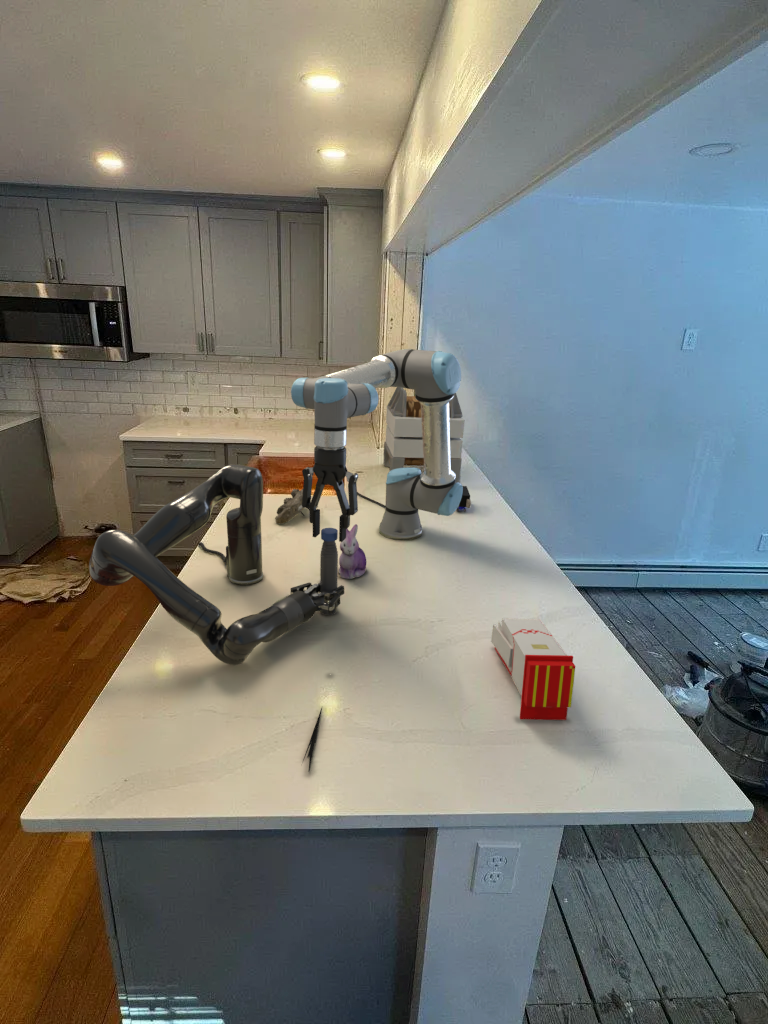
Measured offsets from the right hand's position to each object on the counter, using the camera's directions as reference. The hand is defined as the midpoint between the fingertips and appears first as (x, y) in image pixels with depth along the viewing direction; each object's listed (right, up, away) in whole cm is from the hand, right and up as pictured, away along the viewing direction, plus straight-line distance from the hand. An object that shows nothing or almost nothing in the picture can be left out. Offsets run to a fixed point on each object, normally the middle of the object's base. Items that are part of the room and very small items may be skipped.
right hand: (329, 537), depth 140 cm
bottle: (-1, -19, +7) cm, 21 cm away
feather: (+1, -34, -32) cm, 46 cm away
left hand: (+1, -13, +7) cm, 15 cm away
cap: (0, +1, -1) cm, 1 cm away
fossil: (-20, +5, +72) cm, 75 cm away
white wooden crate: (+31, +25, +134) cm, 140 cm away
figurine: (+4, -12, +28) cm, 31 cm away
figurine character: (+44, +8, +89) cm, 100 cm away
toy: (+44, -30, -17) cm, 56 cm away
